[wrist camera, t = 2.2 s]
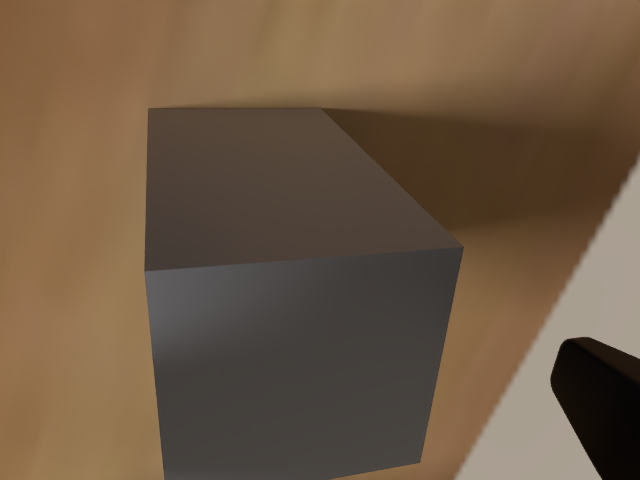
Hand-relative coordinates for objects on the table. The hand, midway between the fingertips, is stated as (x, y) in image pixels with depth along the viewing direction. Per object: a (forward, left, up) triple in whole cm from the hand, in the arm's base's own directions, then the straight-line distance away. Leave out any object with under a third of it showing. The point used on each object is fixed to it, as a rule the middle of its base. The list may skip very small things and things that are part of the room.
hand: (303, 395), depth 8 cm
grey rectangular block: (0, 0, -8) cm, 8 cm away
